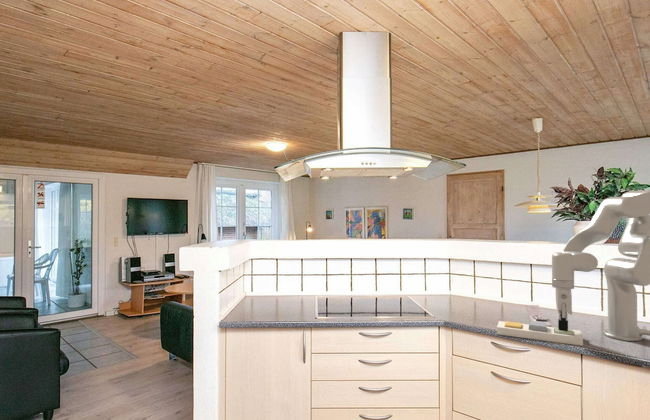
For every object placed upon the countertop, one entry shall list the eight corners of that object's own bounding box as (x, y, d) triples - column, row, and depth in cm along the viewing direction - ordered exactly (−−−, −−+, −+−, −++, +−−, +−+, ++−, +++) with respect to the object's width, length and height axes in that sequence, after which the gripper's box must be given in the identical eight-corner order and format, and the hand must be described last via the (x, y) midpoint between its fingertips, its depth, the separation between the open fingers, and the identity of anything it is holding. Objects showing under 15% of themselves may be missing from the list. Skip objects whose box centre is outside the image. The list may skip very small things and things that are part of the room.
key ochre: (521, 328, 164) (521, 323, 164) (521, 332, 159) (521, 326, 159) (506, 327, 167) (506, 321, 167) (505, 330, 162) (505, 324, 162)
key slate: (546, 329, 160) (546, 322, 160) (546, 333, 155) (546, 326, 155) (529, 327, 163) (529, 321, 163) (529, 330, 158) (529, 324, 158)
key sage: (572, 335, 156) (572, 328, 156) (573, 339, 150) (573, 333, 150) (554, 333, 158) (554, 326, 158) (555, 337, 153) (555, 330, 153)
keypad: (580, 338, 156) (580, 330, 156) (583, 345, 147) (583, 337, 147) (499, 327, 170) (499, 320, 170) (496, 334, 162) (496, 327, 162)
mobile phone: (538, 304, 188) (553, 318, 164) (538, 317, 188) (553, 332, 164) (524, 304, 189) (537, 317, 165) (525, 316, 189) (538, 331, 165)
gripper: (575, 288, 146) (575, 336, 146) (572, 281, 159) (572, 326, 159) (552, 286, 150) (552, 333, 150) (551, 280, 163) (551, 323, 163)
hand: (563, 329), depth 154 cm, fingers closed
